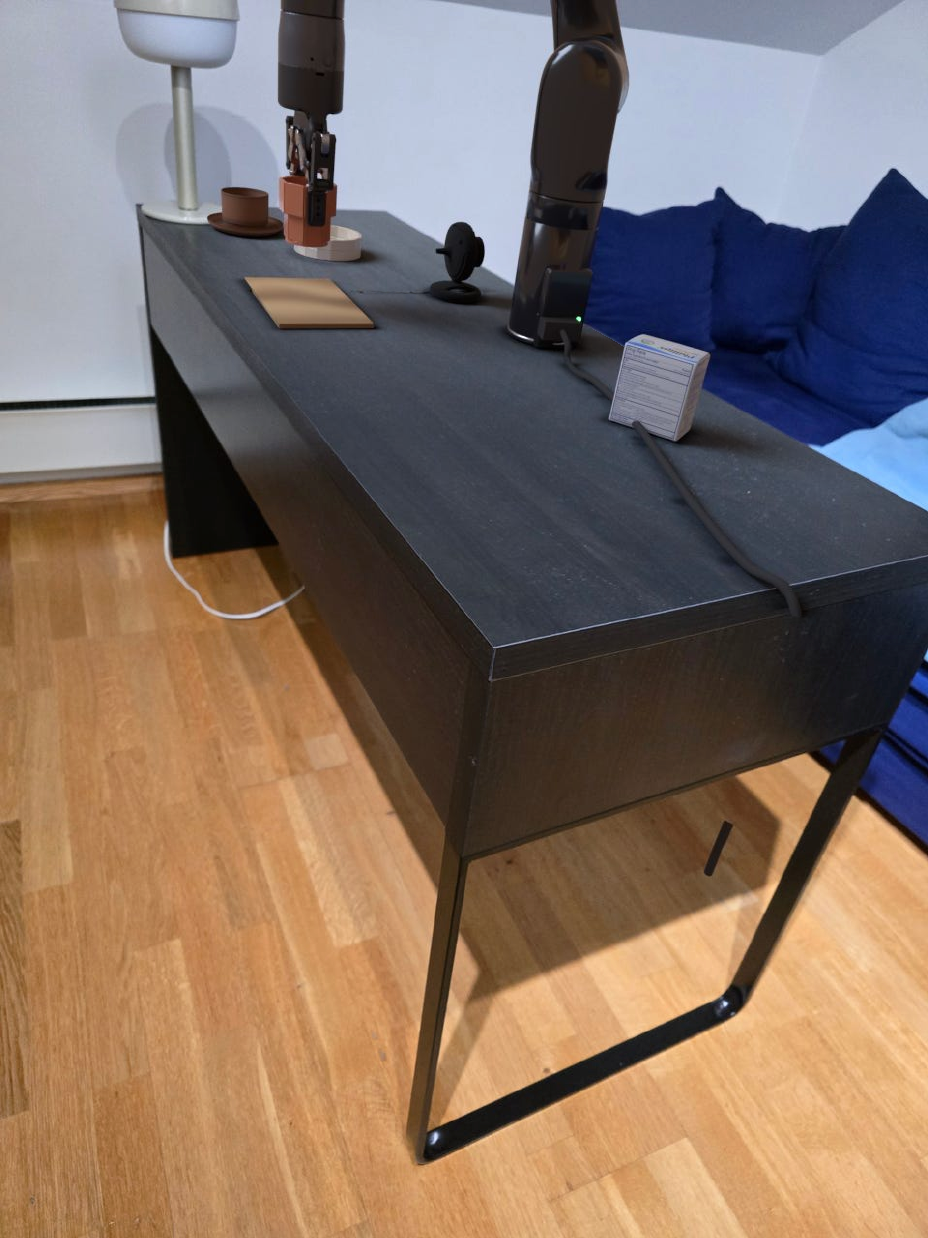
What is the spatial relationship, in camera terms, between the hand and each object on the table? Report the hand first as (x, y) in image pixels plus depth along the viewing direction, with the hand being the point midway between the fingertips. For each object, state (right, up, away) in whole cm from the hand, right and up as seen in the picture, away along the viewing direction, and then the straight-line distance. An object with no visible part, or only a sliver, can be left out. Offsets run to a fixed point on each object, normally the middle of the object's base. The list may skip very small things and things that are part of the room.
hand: (307, 218), depth 110 cm
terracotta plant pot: (0, -2, +2) cm, 3 cm away
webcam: (+18, -3, +18) cm, 26 cm away
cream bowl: (-2, +7, +28) cm, 29 cm away
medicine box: (+39, -30, -15) cm, 51 cm away
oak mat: (-1, -9, +6) cm, 10 cm away
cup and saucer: (-16, +13, +34) cm, 39 cm away
